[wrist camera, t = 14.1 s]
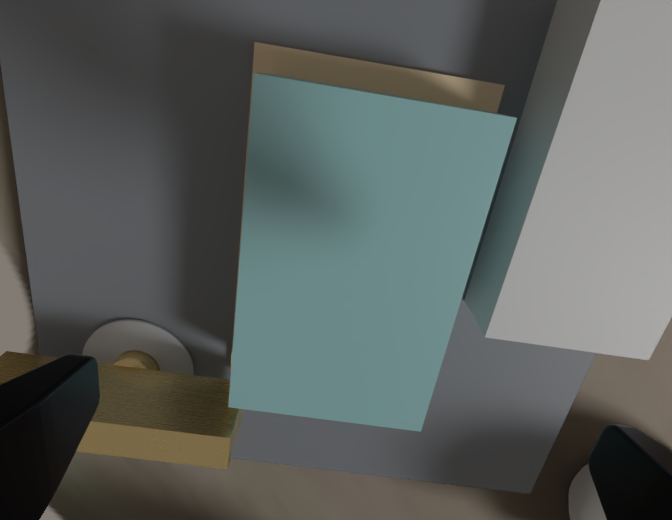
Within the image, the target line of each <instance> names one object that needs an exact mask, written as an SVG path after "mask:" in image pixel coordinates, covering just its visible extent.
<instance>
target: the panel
mask: <svg viewBox="0 0 672 520" xmlns="http://www.w3.org/2000/svg"><path fill="white" fill-rule="evenodd" d="M0 64H1V72H2V79H3V87H4V94H5V101H6V109H7V116H8V124H9V131H10V139H11V146H12V153H13V161H14V168H15V176H16V183H17V191H18V198H19V206H20V213H21V220H22V228H23V235H24V243H25V250H26V258H27V265H28V272H29V280H30V287H31V295H32V302H33V310H34V317H35V324H36V332H37V339H38V347H39V354H40V356H48V357H55V358H60V357H62V356H65V355H67V354H79V355H87V356H92V357H94V358H95V359H96V361H97V363H102V364H110V365H112V364H113V363H114V361H115V360H116V359H117V357H118V356H119V355H120V354H122V353H123V352H125V351H129V350H139V351H143V352H145V353H147V354H149V355H151V356H152V357H153V358H154V359H155V360H156V361H157V362H158V364H159V366H160V371H164V372H171V373H179V374H187V375H195V376H202V377H210V378H218V379H226V380H230V377H231V364H232V351H233V338H234V325H235V312H236V299H237V285H238V272H239V259H240V246H241V233H242V220H243V207H244V193H245V180H246V167H247V154H248V141H249V128H250V115H251V101H252V88H253V75H254V73H271V74H277V75H283V76H288V77H294V78H300V79H306V80H312V81H318V82H324V83H330V84H336V85H341V86H347V87H353V88H359V89H365V90H371V91H377V92H383V93H389V94H394V95H400V96H406V97H412V98H418V99H424V100H430V101H436V102H441V103H447V104H453V105H459V106H465V107H471V108H477V109H483V110H487V111H491V112H495V113H499V114H503V115H508V116H512V117H516V118H517V120H516V123H515V127H514V130H513V133H512V136H511V140H510V143H509V146H508V149H507V153H506V156H505V159H504V162H503V166H502V169H501V172H500V176H499V179H498V182H497V185H496V189H495V192H494V195H493V198H492V202H491V205H490V208H489V211H488V215H487V218H486V221H485V224H484V228H483V231H482V234H481V237H480V241H479V244H478V247H477V250H476V254H475V257H474V260H473V264H472V267H471V270H470V273H469V277H468V280H467V283H466V286H465V290H464V293H463V296H462V299H461V303H460V306H459V309H458V312H457V316H456V319H455V322H454V325H453V329H452V332H451V335H450V338H449V342H448V345H447V348H446V351H445V355H444V358H443V361H442V365H441V368H440V371H439V374H438V378H437V381H436V384H435V387H434V391H433V394H432V397H431V400H430V404H429V407H428V410H427V413H426V417H425V420H424V423H423V426H422V430H421V432H419V431H411V430H403V429H396V428H388V427H380V426H372V425H364V424H356V423H348V422H341V421H333V420H325V419H317V418H309V417H301V416H293V415H285V414H278V413H270V412H262V411H254V410H246V409H244V413H243V417H242V421H241V424H240V428H239V431H238V435H237V438H236V442H235V445H234V449H233V452H232V456H231V458H233V459H242V460H250V461H258V462H267V463H275V464H283V465H292V466H300V467H308V468H317V469H325V470H333V471H342V472H350V473H358V474H367V475H375V476H383V477H392V478H400V479H408V480H417V481H425V482H433V483H442V484H450V485H458V486H467V487H475V488H483V489H492V490H500V491H508V492H517V493H525V494H530V493H531V491H532V489H533V487H534V484H535V482H536V480H537V478H538V476H539V474H540V472H541V470H542V467H543V465H544V463H545V461H546V459H547V457H548V455H549V452H550V450H551V448H552V446H553V444H554V442H555V440H556V438H557V435H558V433H559V431H560V429H561V427H562V425H563V423H564V421H565V418H566V416H567V414H568V412H569V410H570V408H571V406H572V404H573V401H574V399H575V397H576V395H577V393H578V391H579V389H580V387H581V384H582V382H583V380H584V378H585V376H586V374H587V372H588V369H589V367H590V365H591V363H592V361H593V359H594V357H595V355H596V353H601V354H608V355H615V356H622V357H629V358H636V359H644V360H649V359H650V357H651V355H652V353H653V351H654V349H655V347H656V345H657V344H658V342H659V340H660V338H661V336H662V334H663V332H664V330H665V328H666V327H667V325H668V323H669V321H670V319H671V317H672V0H0Z"/></svg>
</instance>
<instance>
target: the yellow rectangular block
mask: <svg viewBox="0 0 672 520" xmlns="http://www.w3.org/2000/svg"><path fill="white" fill-rule="evenodd" d="M56 359H58V358H55V357H48V356H40V355H32V354H25V353H16V352H8V351H6V352H5V353H4V354H3V355H1V356H0V384H3V383H5V382H7V381H9V380H11V379H14V378H16V377H18V376H20V375H23V374H25V373H27V372H29V371H31V370H34V369H36V368H38V367H40V366H43V365H45V364H47V363H49V362H51V361H54V360H56ZM97 364H98V374H99V388H100V399H99V404H98V407H97V409H96V412H95V414H94V416H93V418H92V420H91V422H90V424H89V426H88V428H87V430H86V432H85V434H84V436H83V438H82V440H81V442H80V444H79V446H78V448H77V450H76V451H78V452H86V453H95V454H103V455H112V456H120V457H128V458H137V459H145V460H154V461H162V462H171V463H179V464H188V465H196V466H205V467H213V468H221V469H228V466H229V463H230V459H231V456H232V452H233V449H234V445H235V442H236V438H237V435H238V431H239V428H240V424H241V421H242V417H243V413H244V409H238V408H230V407H228V404H229V391H230V380H226V379H218V378H210V377H202V376H195V375H187V374H179V373H171V372H164V371H160V366H159V364H158V362H157V361H156V360H155V359H154V358H153V357H152V356H151V355H149V354H147V353H145V352H143V351H139V350H129V351H125V352H123V353H122V354H120V355H119V356H118V357H117V359H116V360H115V361H114V363H113V364H112V365H110V364H102V363H97Z"/></svg>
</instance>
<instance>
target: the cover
mask: <svg viewBox="0 0 672 520" xmlns="http://www.w3.org/2000/svg"><path fill="white" fill-rule="evenodd" d="M516 120H517V118H516V117H512V116H508V115H503V114H499V113H495V112H491V111H487V110H483V109H477V108H471V107H465V106H459V105H453V104H447V103H441V102H436V101H430V100H424V99H418V98H412V97H406V96H400V95H394V94H389V93H383V92H377V91H371V90H365V89H359V88H353V87H347V86H341V85H336V84H330V83H324V82H318V81H312V80H306V79H300V78H294V77H288V76H283V75H277V74H271V73H254V75H253V88H252V101H251V115H250V128H249V141H248V154H247V167H246V180H245V193H244V207H243V220H242V233H241V246H240V259H239V272H238V285H237V299H236V312H235V325H234V338H233V351H232V364H231V377H230V391H229V404H228V407H230V408H238V409H246V410H254V411H262V412H270V413H278V414H285V415H293V416H301V417H309V418H317V419H325V420H333V421H341V422H348V423H356V424H364V425H372V426H380V427H388V428H396V429H403V430H411V431H419V432H421V430H422V426H423V423H424V420H425V417H426V413H427V410H428V407H429V404H430V400H431V397H432V394H433V391H434V387H435V384H436V381H437V378H438V374H439V371H440V368H441V365H442V361H443V358H444V355H445V351H446V348H447V345H448V342H449V338H450V335H451V332H452V329H453V325H454V322H455V319H456V316H457V312H458V309H459V306H460V303H461V299H462V296H463V293H464V290H465V286H466V283H467V280H468V277H469V273H470V270H471V267H472V264H473V260H474V257H475V254H476V250H477V247H478V244H479V241H480V237H481V234H482V231H483V228H484V224H485V221H486V218H487V215H488V211H489V208H490V205H491V202H492V198H493V195H494V192H495V189H496V185H497V182H498V179H499V176H500V172H501V169H502V166H503V162H504V159H505V156H506V153H507V149H508V146H509V143H510V140H511V136H512V133H513V130H514V127H515V123H516Z"/></svg>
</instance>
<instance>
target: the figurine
mask: <svg viewBox="0 0 672 520" xmlns="http://www.w3.org/2000/svg"><path fill="white" fill-rule="evenodd" d="M671 452H672V451H671ZM568 503H569V516H570V520H607V519H606V516H605V513H604V511H603V508H602V505H601V502H600V499H599V497H598V494H597V491H596V488H595V485H594V482H593V480H592V477H591V474H590V471H589V466H588V463H587V464H586V465H585V466H584V467H583V468H582V469H581V470H580V471H579V472H578V473H577V475H576V476H575V477H574V479H573V481H572V483H571V485H570V488H569V494H568Z"/></svg>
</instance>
